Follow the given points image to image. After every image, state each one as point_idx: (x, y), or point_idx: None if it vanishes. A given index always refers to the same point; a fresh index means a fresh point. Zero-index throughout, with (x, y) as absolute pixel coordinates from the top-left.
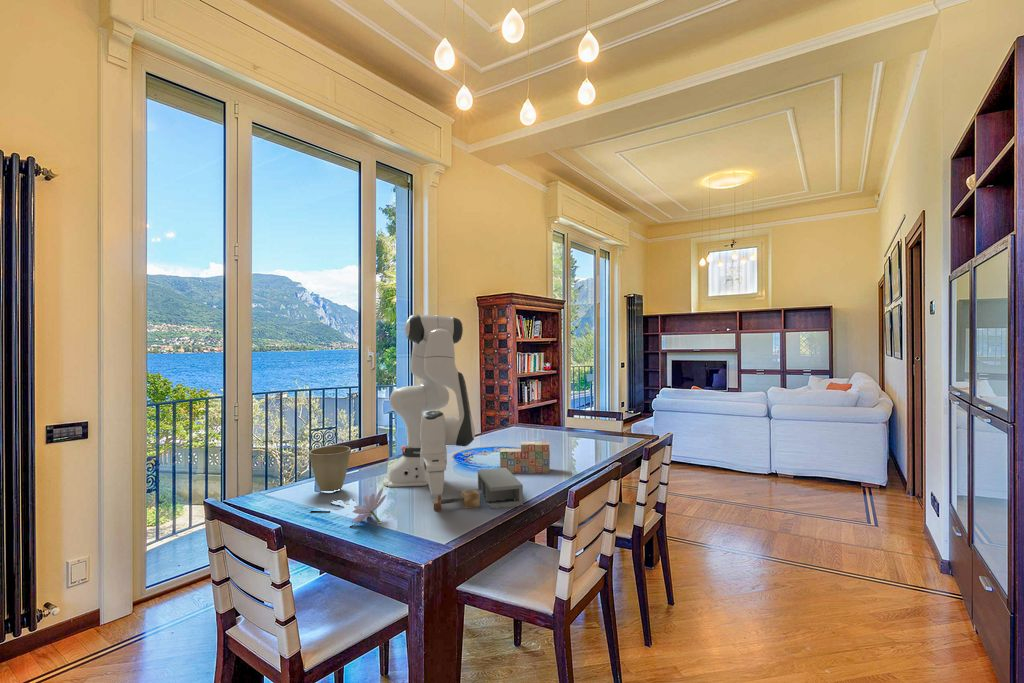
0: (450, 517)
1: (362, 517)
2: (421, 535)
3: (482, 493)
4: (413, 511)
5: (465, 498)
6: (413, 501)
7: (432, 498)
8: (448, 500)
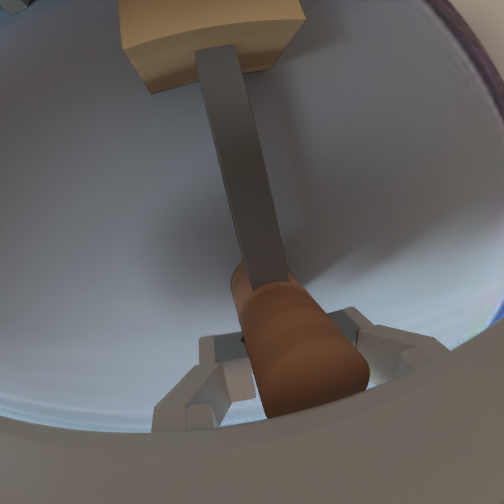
0: (413, 192)
1: None
2: (496, 304)
3: (23, 1)
4: (256, 408)
5: (294, 32)
6: (86, 414)
7: None
8: (271, 205)
